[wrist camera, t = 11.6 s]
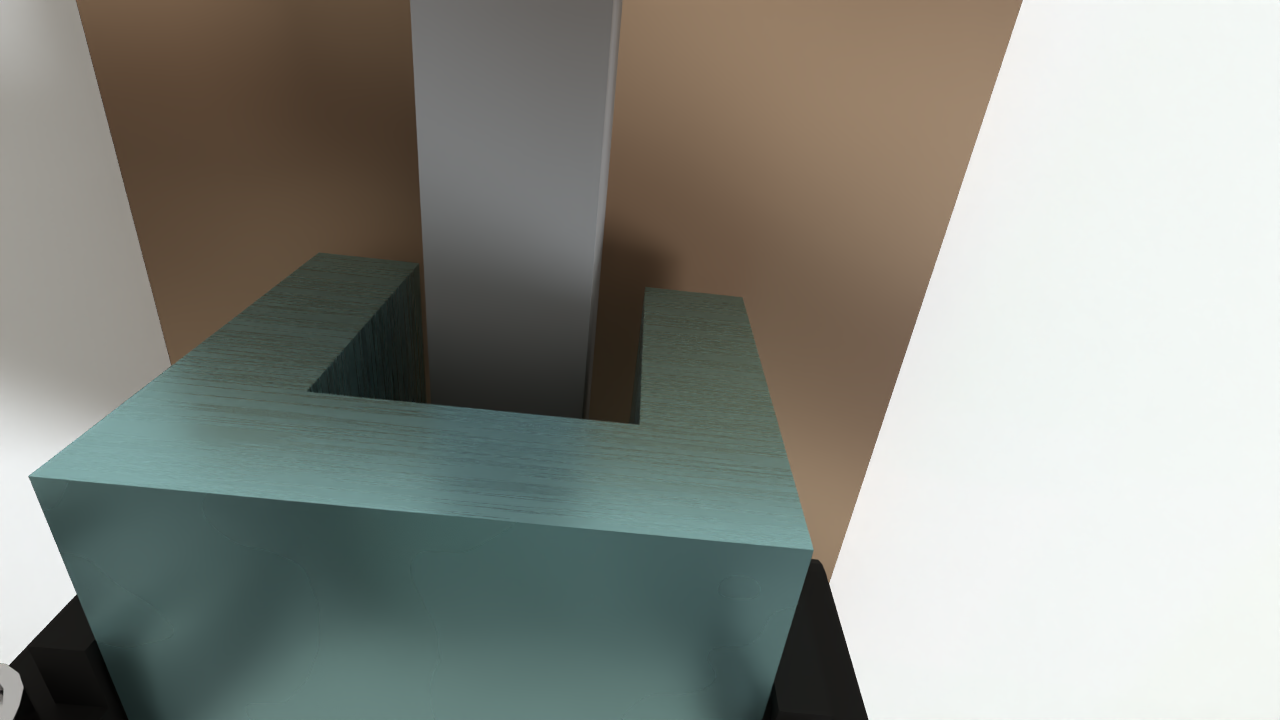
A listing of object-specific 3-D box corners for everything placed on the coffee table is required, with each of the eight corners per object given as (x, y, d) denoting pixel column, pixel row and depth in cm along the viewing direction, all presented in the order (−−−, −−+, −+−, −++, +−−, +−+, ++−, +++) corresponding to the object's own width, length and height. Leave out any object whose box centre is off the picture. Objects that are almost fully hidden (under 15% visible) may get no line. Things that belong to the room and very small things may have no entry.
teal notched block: (678, 631, 13) (689, 957, 9) (363, 603, 13) (210, 920, 8) (742, 297, 10) (813, 550, 5) (319, 253, 10) (28, 475, 5)
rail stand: (721, 834, 21) (734, 992, 17) (323, 803, 20) (260, 959, 17) (982, -36, 10) (1151, -49, 6) (122, -141, 9) (-167, -212, 6)
